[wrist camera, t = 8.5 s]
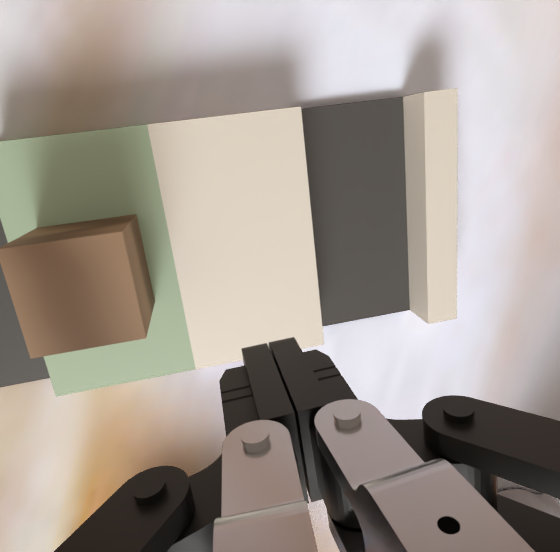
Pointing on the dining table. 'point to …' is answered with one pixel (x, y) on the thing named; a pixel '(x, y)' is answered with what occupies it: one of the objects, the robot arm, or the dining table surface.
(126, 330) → the walnut block
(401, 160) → the trap deck
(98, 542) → the robot arm
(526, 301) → the dining table surface
